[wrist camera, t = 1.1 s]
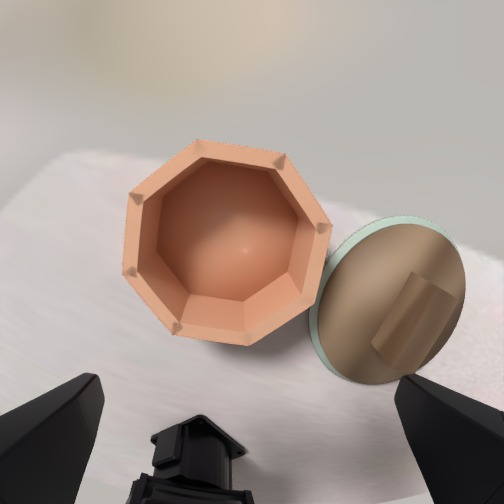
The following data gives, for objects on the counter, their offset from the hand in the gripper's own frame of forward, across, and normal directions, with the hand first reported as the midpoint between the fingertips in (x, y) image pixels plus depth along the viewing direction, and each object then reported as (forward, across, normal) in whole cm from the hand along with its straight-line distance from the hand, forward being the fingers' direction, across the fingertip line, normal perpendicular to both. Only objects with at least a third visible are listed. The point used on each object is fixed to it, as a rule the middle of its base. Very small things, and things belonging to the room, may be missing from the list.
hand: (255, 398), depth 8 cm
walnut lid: (+12, -12, +3) cm, 17 cm away
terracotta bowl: (+13, +1, -2) cm, 13 cm away
